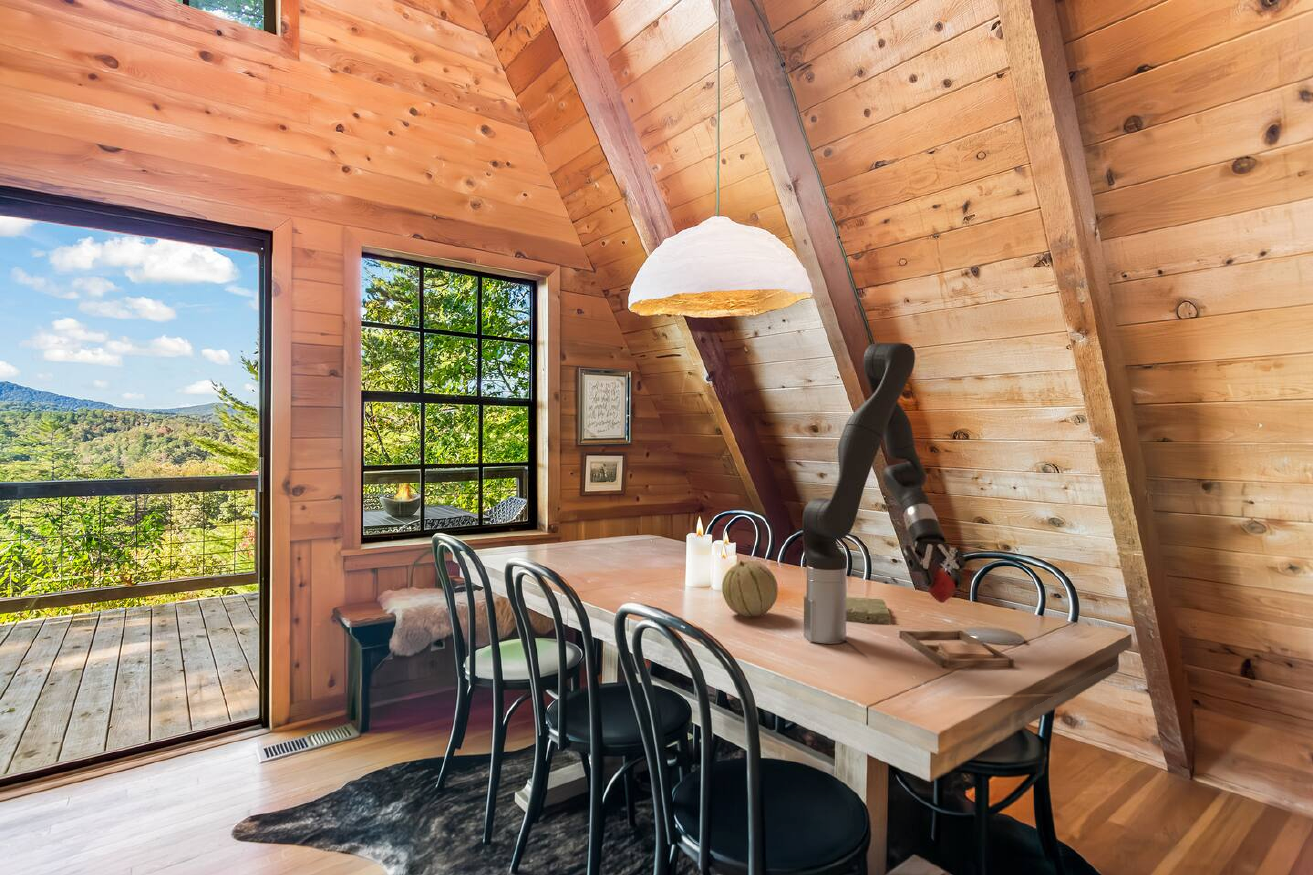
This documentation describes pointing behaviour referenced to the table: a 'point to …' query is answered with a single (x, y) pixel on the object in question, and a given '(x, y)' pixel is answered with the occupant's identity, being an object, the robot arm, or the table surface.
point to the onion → (942, 586)
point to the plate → (995, 635)
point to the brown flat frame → (931, 650)
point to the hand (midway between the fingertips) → (945, 585)
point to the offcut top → (965, 651)
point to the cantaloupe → (749, 588)
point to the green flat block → (867, 610)
